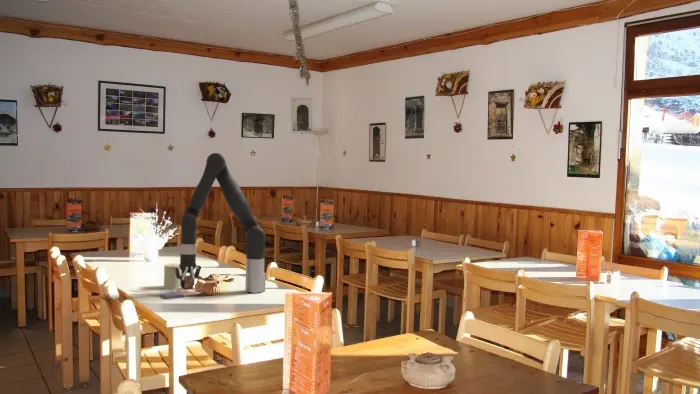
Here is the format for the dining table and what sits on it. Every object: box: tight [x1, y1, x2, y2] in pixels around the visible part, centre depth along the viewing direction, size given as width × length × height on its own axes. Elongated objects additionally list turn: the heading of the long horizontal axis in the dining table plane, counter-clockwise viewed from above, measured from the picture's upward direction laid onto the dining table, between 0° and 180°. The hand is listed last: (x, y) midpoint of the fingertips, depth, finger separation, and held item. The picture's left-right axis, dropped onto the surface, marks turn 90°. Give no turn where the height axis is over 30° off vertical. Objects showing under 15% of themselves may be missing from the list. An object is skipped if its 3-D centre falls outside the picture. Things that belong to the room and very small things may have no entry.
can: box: [163, 263, 182, 290], centre depth 317 cm, size 9×9×12 cm
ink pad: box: [159, 292, 185, 300], centre depth 295 cm, size 9×7×1 cm
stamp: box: [180, 274, 194, 290], centre depth 305 cm, size 4×4×6 cm
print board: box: [172, 288, 202, 296], centre depth 306 cm, size 11×10×1 cm
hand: (187, 286), depth 305 cm, fingers closed on stamp, 4 cm apart
